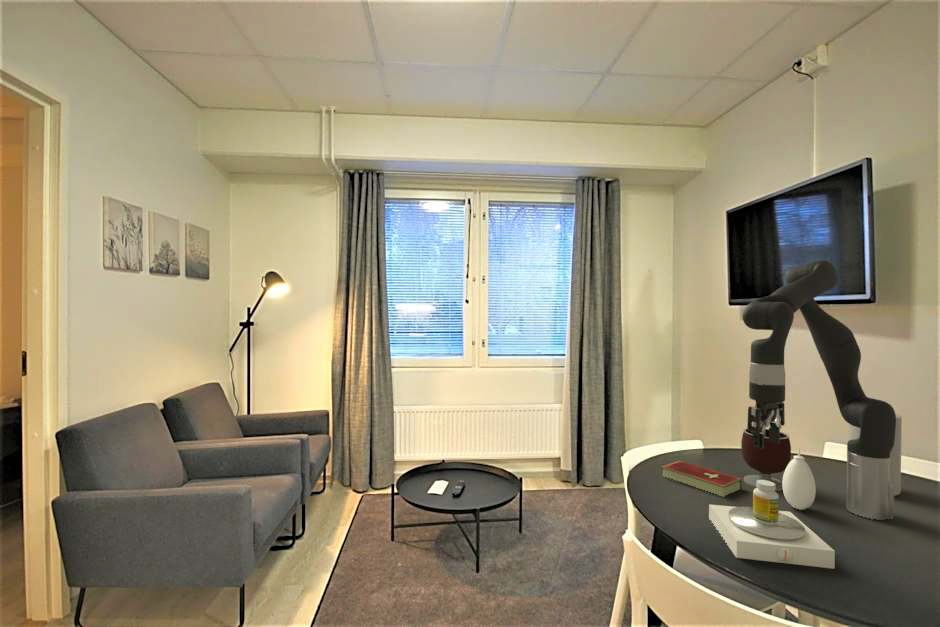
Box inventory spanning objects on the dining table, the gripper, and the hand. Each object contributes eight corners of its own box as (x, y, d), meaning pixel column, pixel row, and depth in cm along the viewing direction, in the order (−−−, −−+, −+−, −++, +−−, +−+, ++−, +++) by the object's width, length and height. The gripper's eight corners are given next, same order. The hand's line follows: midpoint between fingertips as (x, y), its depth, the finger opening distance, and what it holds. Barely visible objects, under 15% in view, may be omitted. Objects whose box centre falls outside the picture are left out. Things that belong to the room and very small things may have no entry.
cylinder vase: (898, 500, 136) (899, 419, 136) (845, 488, 146) (846, 412, 145) (902, 490, 144) (903, 413, 144) (852, 479, 154) (853, 407, 154)
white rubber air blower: (787, 512, 128) (787, 449, 128) (778, 501, 135) (779, 442, 135) (819, 516, 125) (820, 453, 125) (809, 505, 132) (810, 445, 132)
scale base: (789, 526, 119) (790, 511, 119) (836, 570, 99) (836, 552, 99) (708, 518, 123) (709, 504, 123) (737, 559, 103) (737, 541, 103)
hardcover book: (679, 471, 161) (680, 459, 161) (741, 490, 144) (742, 477, 144) (661, 478, 154) (661, 465, 154) (723, 499, 137) (723, 485, 137)
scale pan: (785, 512, 117) (785, 509, 117) (819, 543, 102) (819, 540, 102) (719, 506, 121) (719, 503, 121) (742, 535, 105) (742, 532, 105)
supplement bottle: (758, 513, 115) (759, 477, 115) (782, 522, 110) (782, 483, 110) (748, 519, 112) (749, 481, 112) (772, 527, 108) (772, 488, 107)
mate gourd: (797, 494, 140) (798, 431, 140) (747, 488, 145) (747, 427, 145) (780, 477, 155) (781, 420, 155) (735, 472, 159) (736, 417, 159)
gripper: (763, 377, 118) (763, 438, 118) (736, 381, 110) (736, 446, 110) (796, 381, 112) (795, 445, 112) (770, 386, 104) (769, 454, 104)
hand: (766, 445), depth 111 cm, fingers open, 8 cm apart
